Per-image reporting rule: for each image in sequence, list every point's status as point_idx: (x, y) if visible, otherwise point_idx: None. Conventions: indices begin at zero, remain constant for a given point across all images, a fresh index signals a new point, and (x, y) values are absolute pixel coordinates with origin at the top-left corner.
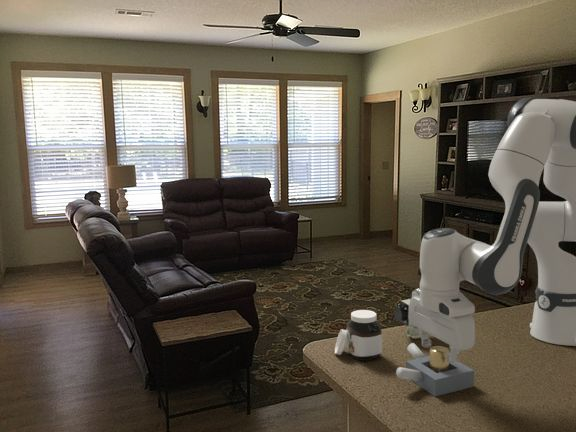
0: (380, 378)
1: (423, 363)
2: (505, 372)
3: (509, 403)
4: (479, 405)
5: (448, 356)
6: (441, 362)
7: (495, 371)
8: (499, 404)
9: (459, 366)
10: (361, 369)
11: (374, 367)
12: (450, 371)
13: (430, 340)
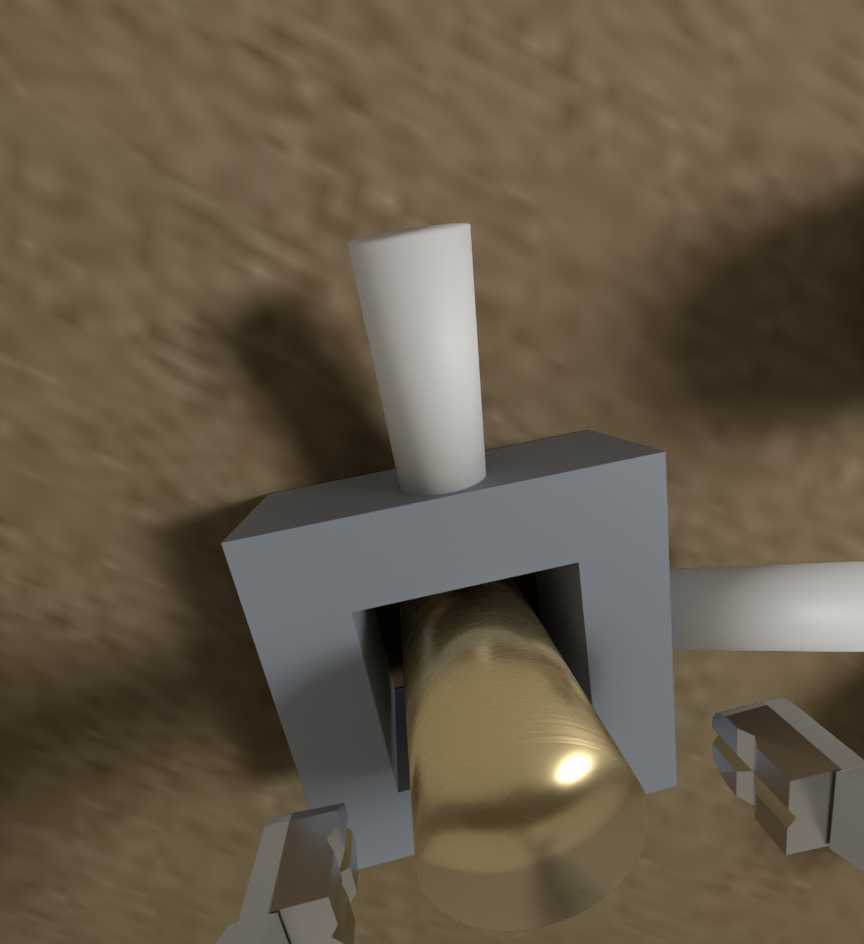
0: (630, 226)
1: (577, 582)
2: (455, 941)
3: (121, 843)
4: (115, 698)
5: (292, 879)
6: (411, 726)
7: None
8: (115, 796)
9: None
10: (820, 135)
11: (801, 261)
12: (356, 723)
13: (785, 845)
